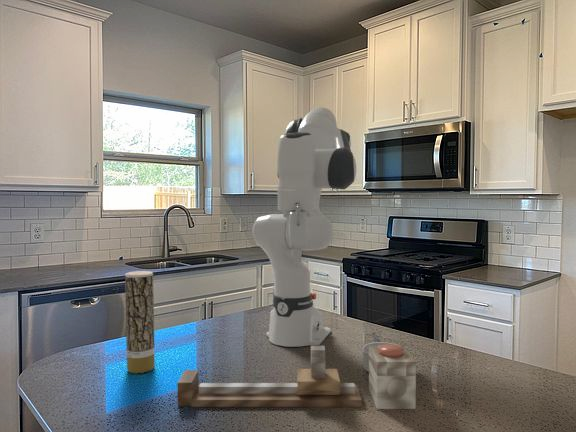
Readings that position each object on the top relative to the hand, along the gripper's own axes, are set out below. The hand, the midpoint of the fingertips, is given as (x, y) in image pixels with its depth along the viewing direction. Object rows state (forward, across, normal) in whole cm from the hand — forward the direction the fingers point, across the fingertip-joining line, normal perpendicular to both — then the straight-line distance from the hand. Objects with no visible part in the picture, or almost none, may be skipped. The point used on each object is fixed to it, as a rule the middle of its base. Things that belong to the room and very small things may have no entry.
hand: (297, 262), depth 103 cm
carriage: (+27, -7, -4) cm, 28 cm away
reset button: (+22, -7, -20) cm, 31 cm away
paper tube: (+29, +10, +40) cm, 51 cm away
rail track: (+29, -7, +1) cm, 30 cm away
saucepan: (+30, +13, -22) cm, 39 cm away
